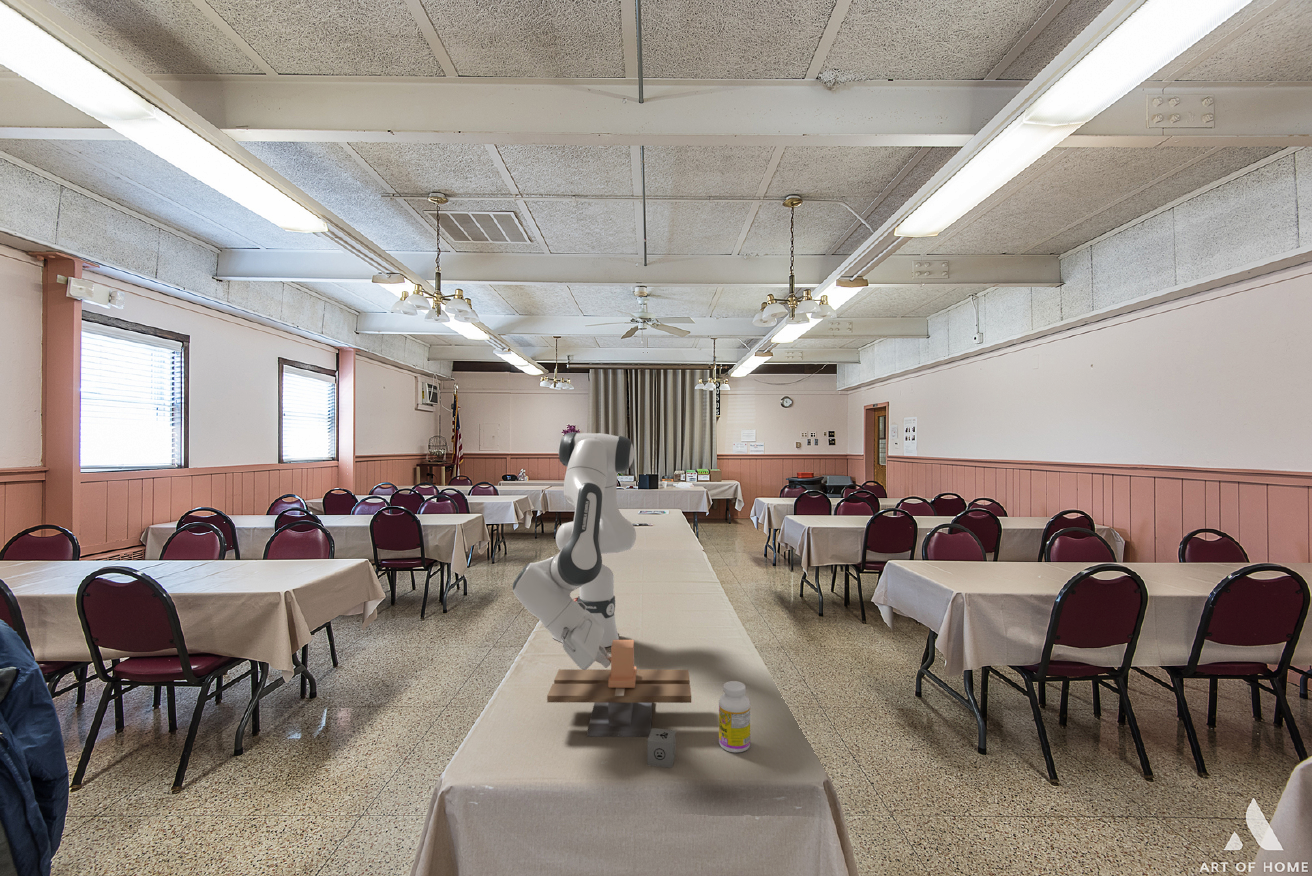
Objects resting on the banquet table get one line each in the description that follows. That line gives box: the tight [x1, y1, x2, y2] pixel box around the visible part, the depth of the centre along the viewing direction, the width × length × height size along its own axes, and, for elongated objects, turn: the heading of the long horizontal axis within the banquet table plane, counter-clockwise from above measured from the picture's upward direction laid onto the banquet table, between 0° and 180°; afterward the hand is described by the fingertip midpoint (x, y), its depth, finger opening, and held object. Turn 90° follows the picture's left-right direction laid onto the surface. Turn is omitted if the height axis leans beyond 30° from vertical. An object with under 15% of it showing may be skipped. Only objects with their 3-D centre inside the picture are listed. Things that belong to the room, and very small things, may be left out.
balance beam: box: [546, 668, 692, 738], centre depth 132 cm, size 32×16×9 cm, turn 89°
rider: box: [608, 639, 637, 688], centre depth 132 cm, size 6×8×10 cm
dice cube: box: [647, 727, 677, 769], centre depth 116 cm, size 5×5×5 cm
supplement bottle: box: [718, 680, 751, 754], centre depth 121 cm, size 7×7×13 cm
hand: (609, 663), depth 132 cm, fingers closed, pressing on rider
